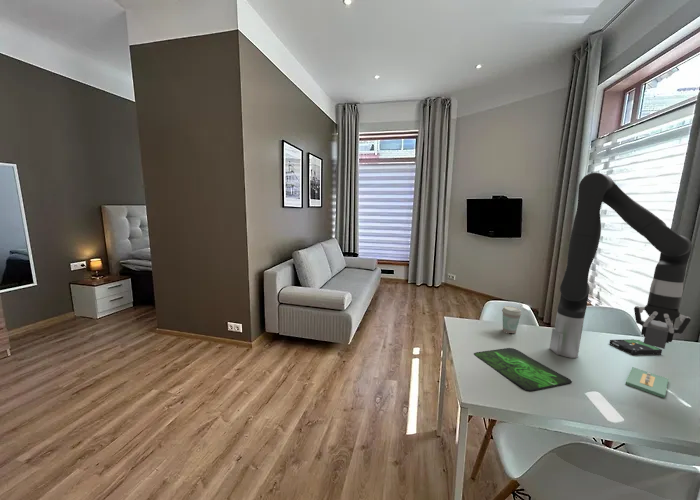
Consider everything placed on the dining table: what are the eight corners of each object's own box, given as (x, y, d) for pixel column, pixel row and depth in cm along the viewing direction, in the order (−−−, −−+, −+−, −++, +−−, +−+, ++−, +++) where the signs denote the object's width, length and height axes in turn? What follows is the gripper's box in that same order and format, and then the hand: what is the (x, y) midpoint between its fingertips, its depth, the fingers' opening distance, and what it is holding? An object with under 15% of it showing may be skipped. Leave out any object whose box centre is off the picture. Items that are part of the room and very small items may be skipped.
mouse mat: (470, 353, 122) (470, 351, 122) (511, 347, 129) (511, 345, 129) (527, 393, 97) (527, 391, 96) (574, 383, 103) (575, 381, 103)
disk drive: (632, 356, 126) (661, 355, 127) (633, 350, 125) (663, 349, 127) (608, 345, 136) (636, 344, 138) (609, 339, 136) (637, 338, 137)
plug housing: (643, 343, 101) (646, 326, 100) (647, 334, 109) (650, 319, 108) (664, 348, 97) (667, 331, 96) (666, 339, 105) (670, 323, 104)
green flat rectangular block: (625, 384, 104) (626, 377, 103) (632, 369, 114) (633, 363, 113) (664, 398, 96) (666, 391, 96) (668, 381, 107) (669, 374, 106)
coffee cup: (503, 334, 142) (506, 310, 140) (497, 327, 150) (500, 305, 149) (521, 336, 141) (525, 312, 139) (515, 328, 149) (517, 306, 147)
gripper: (635, 289, 103) (626, 334, 106) (697, 300, 92) (686, 350, 95) (637, 286, 108) (629, 329, 111) (697, 296, 97) (686, 344, 100)
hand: (655, 339), depth 103 cm, fingers closed on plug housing, 5 cm apart
